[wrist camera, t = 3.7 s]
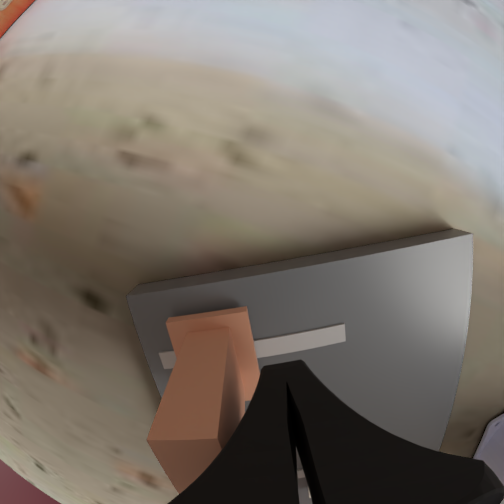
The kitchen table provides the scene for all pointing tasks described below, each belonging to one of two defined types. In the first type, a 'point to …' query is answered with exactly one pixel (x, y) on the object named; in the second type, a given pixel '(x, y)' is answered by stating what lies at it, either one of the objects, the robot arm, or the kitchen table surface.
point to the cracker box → (11, 12)
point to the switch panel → (343, 325)
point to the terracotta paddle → (203, 391)
